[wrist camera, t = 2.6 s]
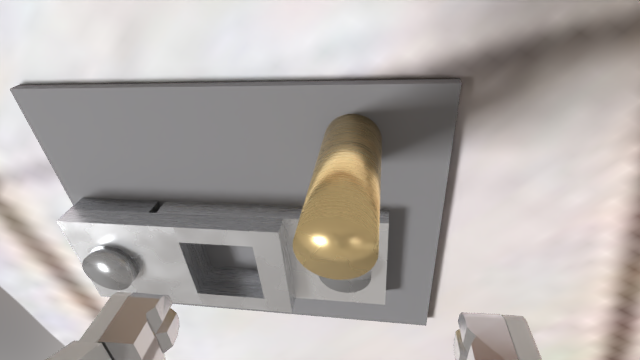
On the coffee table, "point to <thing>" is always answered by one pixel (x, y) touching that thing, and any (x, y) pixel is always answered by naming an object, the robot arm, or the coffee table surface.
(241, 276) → the slotted latch plate
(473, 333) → the robot arm
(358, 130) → the brass pin
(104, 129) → the gray base plate
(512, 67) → the coffee table surface
